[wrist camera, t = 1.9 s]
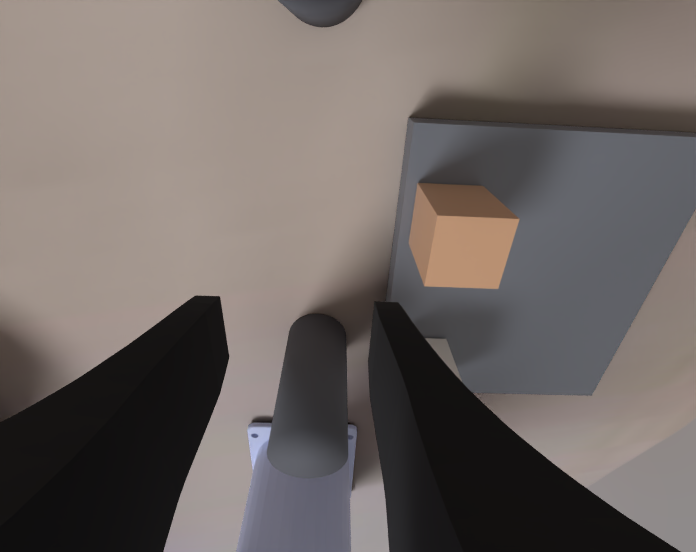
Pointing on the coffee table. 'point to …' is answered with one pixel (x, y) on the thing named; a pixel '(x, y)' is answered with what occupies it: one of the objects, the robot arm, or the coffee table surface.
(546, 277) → the flat gray rectangular panel
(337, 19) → the post
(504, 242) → the tan wooden cube
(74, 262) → the coffee table surface
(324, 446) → the cylinder
